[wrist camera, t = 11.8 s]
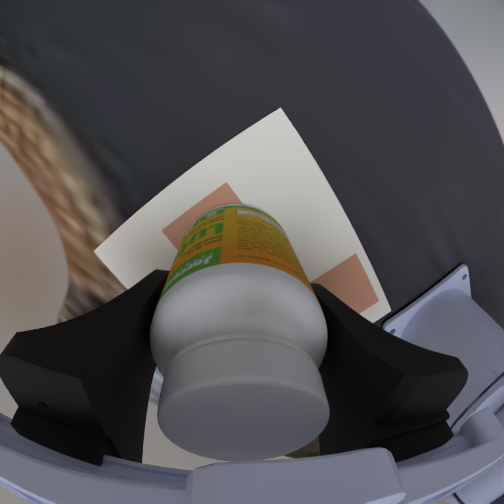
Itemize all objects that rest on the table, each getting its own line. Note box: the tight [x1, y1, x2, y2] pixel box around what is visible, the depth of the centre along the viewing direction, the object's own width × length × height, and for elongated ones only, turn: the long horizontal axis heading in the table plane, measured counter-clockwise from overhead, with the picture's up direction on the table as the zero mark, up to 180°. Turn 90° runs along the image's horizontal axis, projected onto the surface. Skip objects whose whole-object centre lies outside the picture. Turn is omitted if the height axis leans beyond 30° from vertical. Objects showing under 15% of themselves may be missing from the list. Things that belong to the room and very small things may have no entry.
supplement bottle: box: [150, 204, 329, 461], centre depth 10 cm, size 5×5×10 cm
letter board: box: [94, 108, 391, 323], centre depth 15 cm, size 14×12×1 cm
